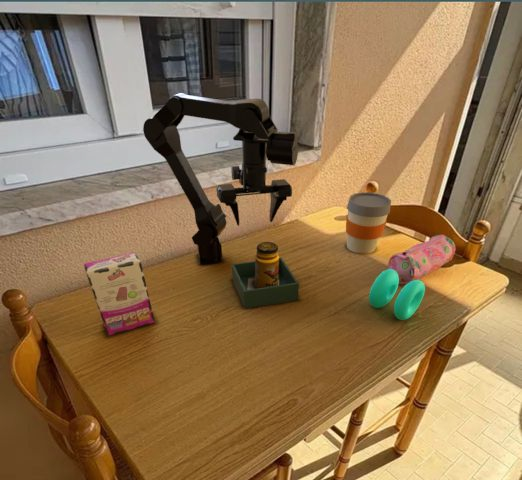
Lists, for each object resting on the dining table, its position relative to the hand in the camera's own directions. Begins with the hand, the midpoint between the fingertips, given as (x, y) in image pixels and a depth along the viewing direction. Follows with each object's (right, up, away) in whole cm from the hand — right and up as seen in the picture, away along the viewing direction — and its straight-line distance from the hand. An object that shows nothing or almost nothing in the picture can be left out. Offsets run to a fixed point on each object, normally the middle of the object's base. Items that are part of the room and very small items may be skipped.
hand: (254, 223), depth 103 cm
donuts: (+34, -25, -8) cm, 43 cm away
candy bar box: (-29, -28, -13) cm, 43 cm away
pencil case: (+47, -12, +6) cm, 49 cm away
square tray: (+3, -18, -1) cm, 18 cm away
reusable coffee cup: (+34, -2, +18) cm, 39 cm away
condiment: (+2, -18, -1) cm, 18 cm away
